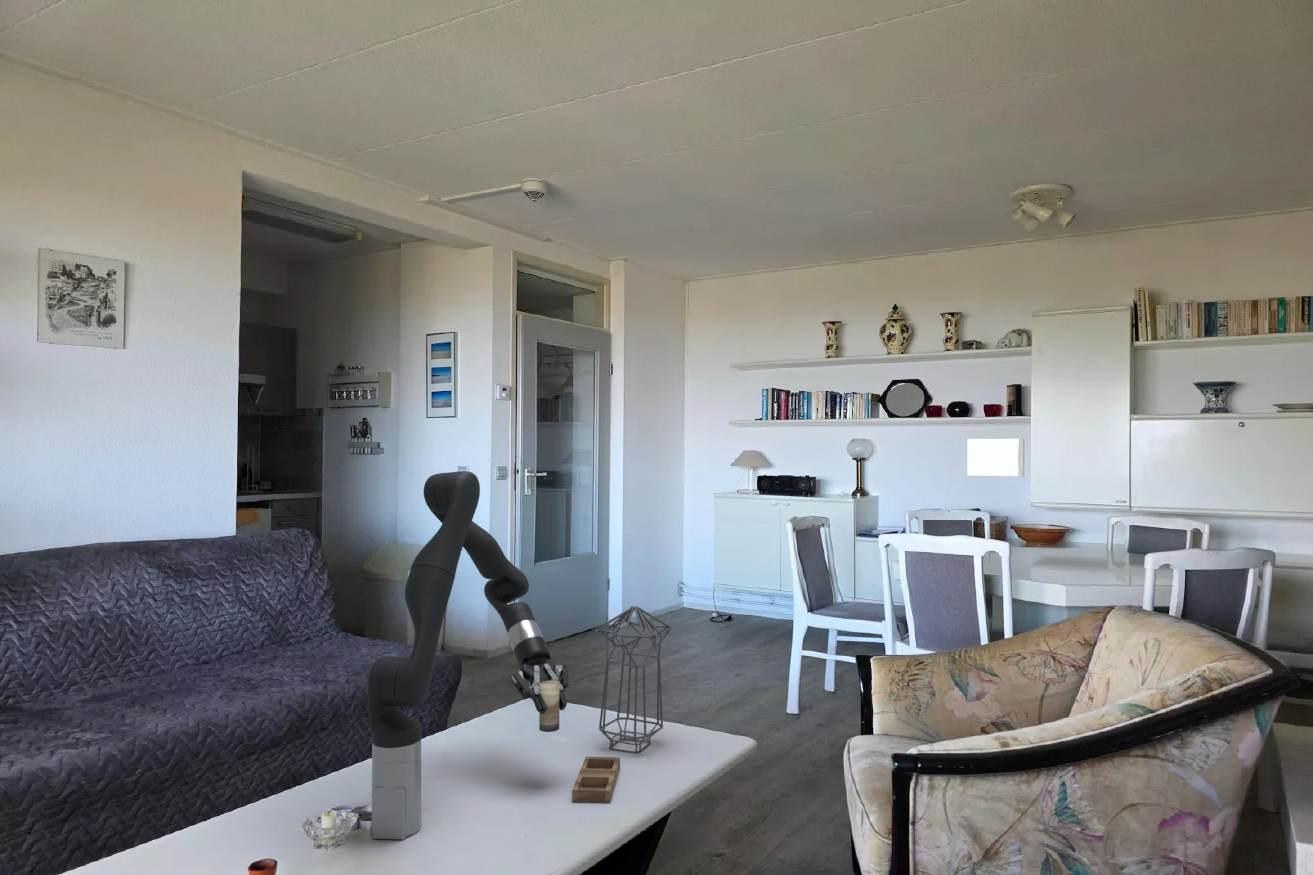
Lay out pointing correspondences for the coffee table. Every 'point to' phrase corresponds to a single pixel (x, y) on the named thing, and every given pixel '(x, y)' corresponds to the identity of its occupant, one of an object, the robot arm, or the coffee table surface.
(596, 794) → the socket block
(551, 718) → the banded peg
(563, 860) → the coffee table surface
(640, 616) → the geometric lantern
